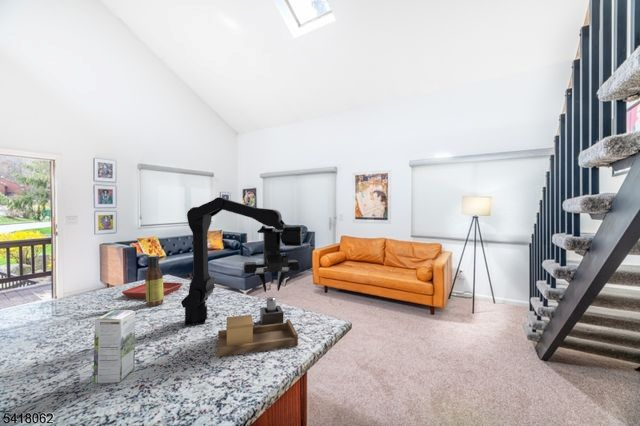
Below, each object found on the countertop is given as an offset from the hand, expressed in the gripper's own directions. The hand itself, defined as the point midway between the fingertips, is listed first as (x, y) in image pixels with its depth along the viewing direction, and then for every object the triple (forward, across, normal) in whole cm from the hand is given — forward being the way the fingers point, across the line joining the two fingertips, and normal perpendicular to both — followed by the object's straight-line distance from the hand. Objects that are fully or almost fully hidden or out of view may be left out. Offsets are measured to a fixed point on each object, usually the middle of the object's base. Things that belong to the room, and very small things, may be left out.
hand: (271, 291), depth 96 cm
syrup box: (+11, -39, -20) cm, 45 cm away
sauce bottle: (+11, -43, +33) cm, 55 cm away
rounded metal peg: (+10, 0, 0) cm, 10 cm away
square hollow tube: (+11, 0, 0) cm, 11 cm away
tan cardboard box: (+11, -11, -12) cm, 20 cm away
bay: (+11, -6, -12) cm, 17 cm away
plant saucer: (+12, -47, +50) cm, 70 cm away
